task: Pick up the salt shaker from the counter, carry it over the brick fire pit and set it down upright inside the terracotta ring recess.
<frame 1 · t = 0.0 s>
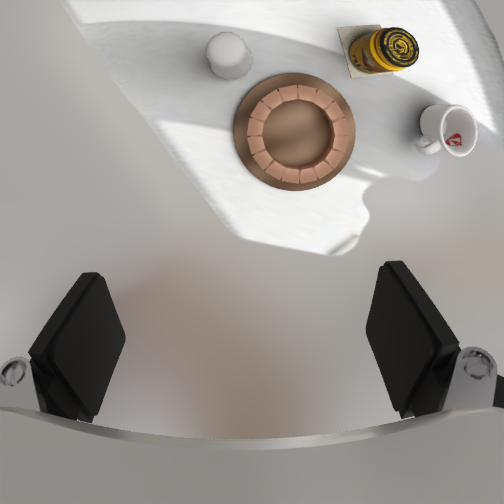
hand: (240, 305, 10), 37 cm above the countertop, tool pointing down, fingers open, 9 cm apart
salt shaker: (232, 62, 37), on the countertop
brick fire pit: (295, 132, 42), on the countertop
condiment: (365, 50, 35), on the countertop
cup: (427, 127, 40), on the countertop
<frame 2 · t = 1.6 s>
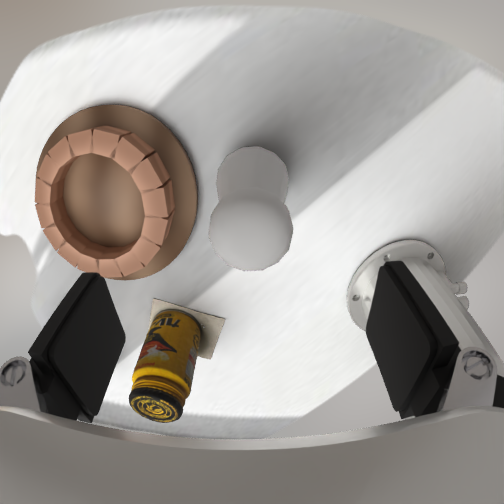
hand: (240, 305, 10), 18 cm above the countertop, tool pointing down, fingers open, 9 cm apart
salt shaker: (252, 173, 26), on the countertop
brick fire pit: (109, 196, 27), on the countertop
condiment: (183, 329, 35), on the countertop
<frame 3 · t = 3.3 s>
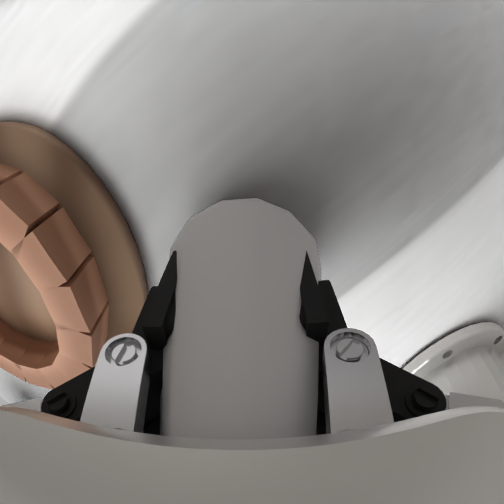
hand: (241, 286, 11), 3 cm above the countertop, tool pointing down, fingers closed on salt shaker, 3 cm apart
salt shaker: (245, 242, 14), on the countertop, touching gripper
brick fire pit: (19, 269, 14), on the countertop
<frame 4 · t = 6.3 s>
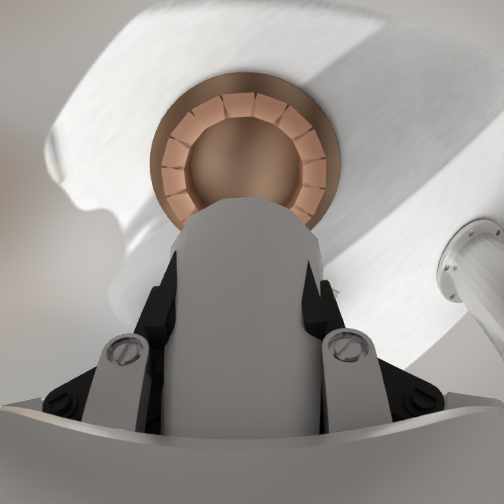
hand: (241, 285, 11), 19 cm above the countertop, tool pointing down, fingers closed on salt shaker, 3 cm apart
salt shaker: (246, 240, 14), point 16 cm above the countertop, touching gripper
brick fire pit: (244, 166, 28), on the countertop
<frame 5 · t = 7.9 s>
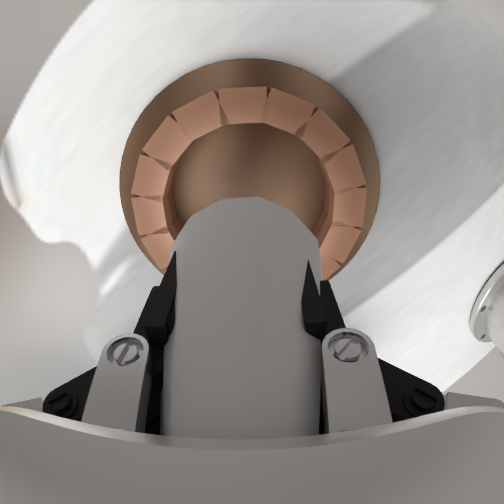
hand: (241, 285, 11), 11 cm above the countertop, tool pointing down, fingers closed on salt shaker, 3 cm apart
salt shaker: (245, 240, 14), point 8 cm above the countertop, touching gripper
brick fire pit: (249, 191, 20), on the countertop
when the fingers open (6 cm above the countertop, at t = 9.1 s): salt shaker drops 2 cm, resting on brick fire pit.
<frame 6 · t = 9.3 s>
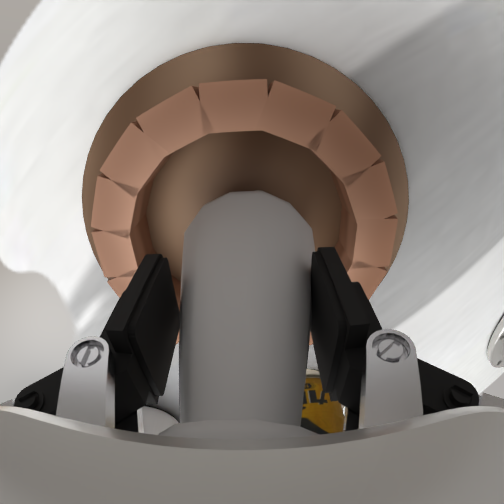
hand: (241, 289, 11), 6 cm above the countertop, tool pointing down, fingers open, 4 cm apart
salt shaker: (249, 226, 15), point 1 cm above the countertop, touching brick fire pit
brick fire pit: (244, 217, 16), on the countertop
condiment: (311, 393, 25), on the countertop
cup: (147, 409, 26), on the countertop
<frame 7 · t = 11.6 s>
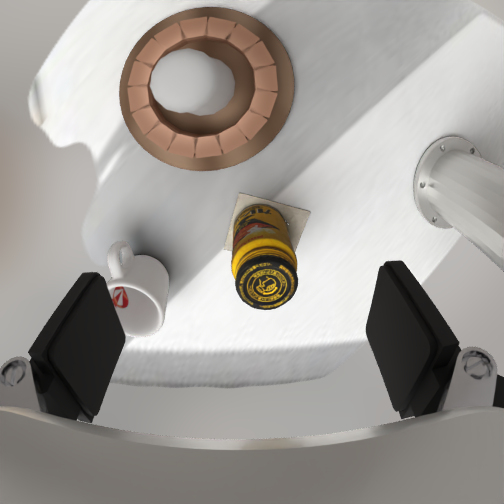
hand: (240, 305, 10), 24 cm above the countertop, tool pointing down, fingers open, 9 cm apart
salt shaker: (206, 86, 26), point 1 cm above the countertop, touching brick fire pit
brick fire pit: (204, 86, 27), on the countertop
condiment: (266, 229, 36), on the countertop
cup: (143, 263, 37), on the countertop
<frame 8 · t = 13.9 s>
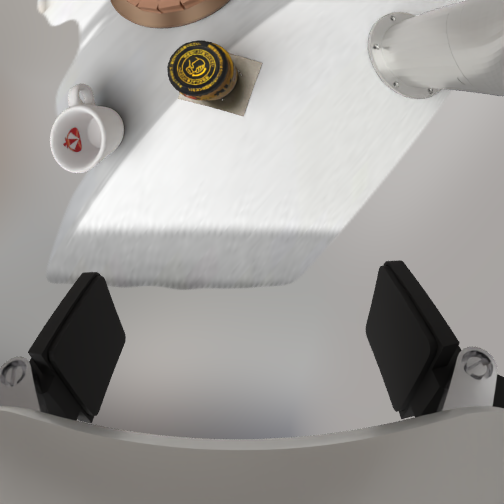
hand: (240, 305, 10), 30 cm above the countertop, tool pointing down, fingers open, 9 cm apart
condiment: (219, 80, 32), on the countertop
cup: (103, 120, 34), on the countertop
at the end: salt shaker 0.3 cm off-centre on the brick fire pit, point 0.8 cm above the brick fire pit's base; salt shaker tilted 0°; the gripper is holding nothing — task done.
